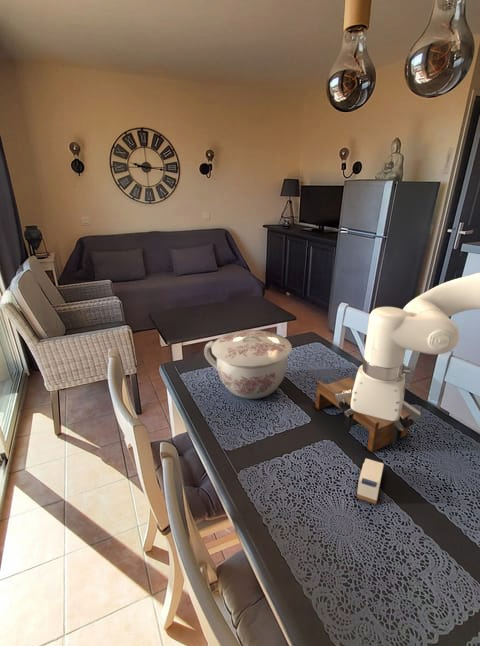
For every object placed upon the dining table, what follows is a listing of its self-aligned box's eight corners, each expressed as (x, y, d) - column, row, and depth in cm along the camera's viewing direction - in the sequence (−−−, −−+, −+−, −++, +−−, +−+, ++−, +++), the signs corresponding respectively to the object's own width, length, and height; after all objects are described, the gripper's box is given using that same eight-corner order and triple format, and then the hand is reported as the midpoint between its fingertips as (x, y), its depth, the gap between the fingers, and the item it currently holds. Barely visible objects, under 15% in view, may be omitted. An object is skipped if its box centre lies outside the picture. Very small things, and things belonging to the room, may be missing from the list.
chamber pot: (306, 393, 125) (309, 339, 117) (239, 420, 112) (237, 362, 104) (260, 361, 147) (260, 314, 139) (200, 381, 134) (196, 330, 126)
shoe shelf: (347, 395, 124) (350, 370, 120) (407, 435, 104) (412, 407, 100) (315, 407, 118) (317, 381, 114) (371, 452, 98) (376, 423, 94)
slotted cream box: (364, 468, 93) (366, 451, 90) (382, 474, 91) (385, 456, 89) (356, 497, 85) (359, 479, 82) (376, 504, 83) (379, 485, 80)
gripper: (429, 368, 73) (414, 435, 80) (343, 351, 80) (336, 414, 87) (428, 386, 67) (412, 457, 74) (335, 366, 74) (328, 433, 81)
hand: (371, 434), depth 80 cm, fingers open, 9 cm apart
